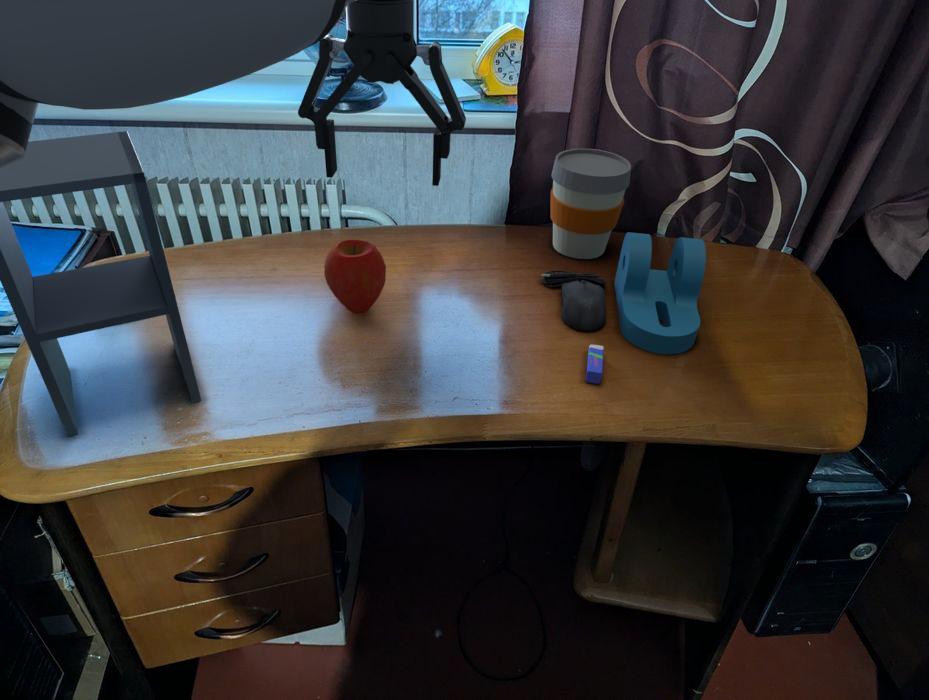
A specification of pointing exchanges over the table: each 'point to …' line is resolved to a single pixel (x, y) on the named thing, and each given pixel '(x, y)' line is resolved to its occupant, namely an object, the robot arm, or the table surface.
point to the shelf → (90, 288)
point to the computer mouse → (580, 298)
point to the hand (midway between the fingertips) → (384, 177)
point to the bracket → (659, 294)
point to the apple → (355, 274)
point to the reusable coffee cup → (586, 200)
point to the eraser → (595, 364)
